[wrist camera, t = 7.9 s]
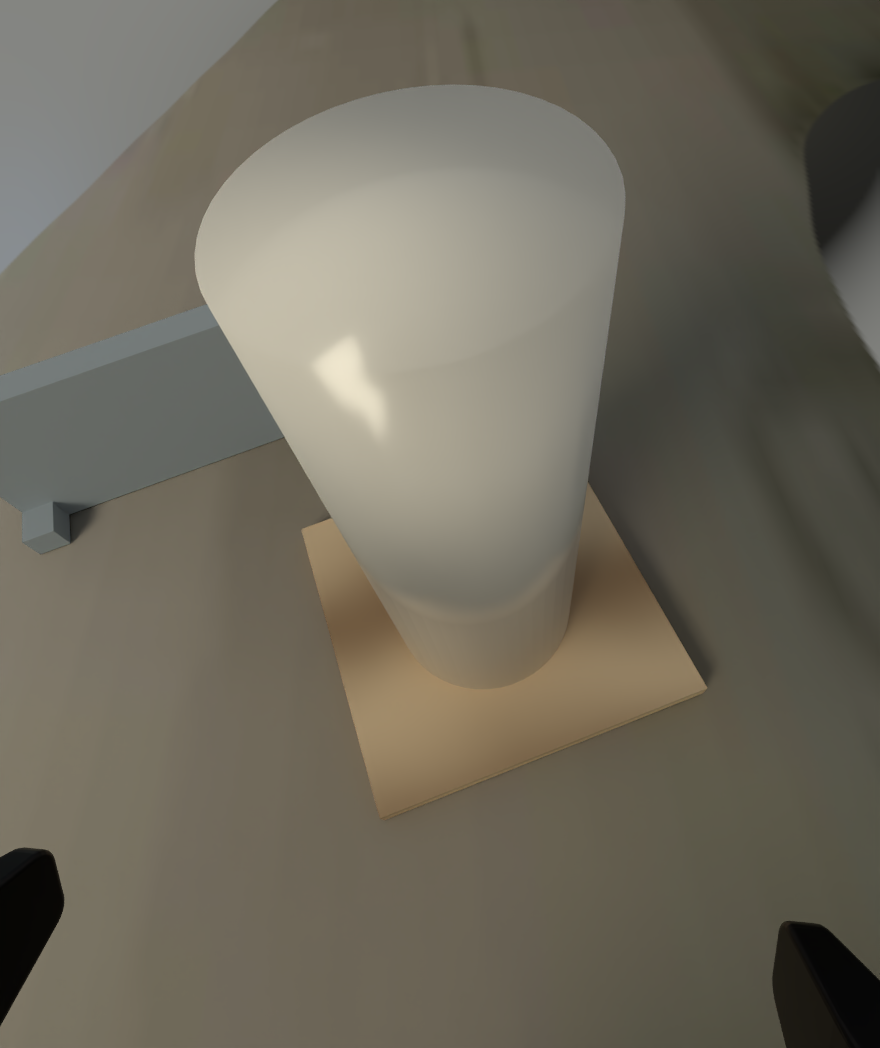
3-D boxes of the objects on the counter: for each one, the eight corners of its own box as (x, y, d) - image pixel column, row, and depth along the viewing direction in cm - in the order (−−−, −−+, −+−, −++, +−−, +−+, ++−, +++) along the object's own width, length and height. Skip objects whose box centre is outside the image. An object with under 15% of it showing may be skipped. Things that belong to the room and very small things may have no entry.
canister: (581, 683, 19) (667, 341, 6) (397, 694, 19) (158, 399, 7) (557, 515, 21) (587, 51, 9) (397, 529, 22) (226, 110, 10)
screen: (335, 447, 25) (282, 334, 20) (40, 554, 24) (-94, 466, 19) (311, 378, 27) (258, 258, 22) (38, 475, 26) (-83, 376, 21)
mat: (702, 693, 19) (707, 688, 18) (384, 820, 18) (380, 818, 18) (559, 443, 24) (559, 433, 23) (306, 537, 23) (301, 529, 23)
